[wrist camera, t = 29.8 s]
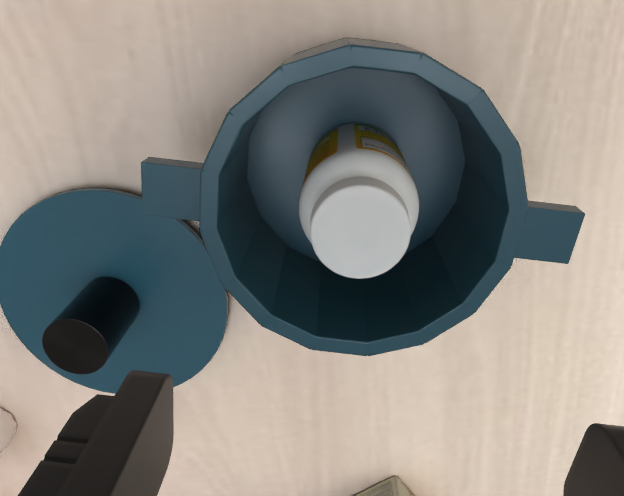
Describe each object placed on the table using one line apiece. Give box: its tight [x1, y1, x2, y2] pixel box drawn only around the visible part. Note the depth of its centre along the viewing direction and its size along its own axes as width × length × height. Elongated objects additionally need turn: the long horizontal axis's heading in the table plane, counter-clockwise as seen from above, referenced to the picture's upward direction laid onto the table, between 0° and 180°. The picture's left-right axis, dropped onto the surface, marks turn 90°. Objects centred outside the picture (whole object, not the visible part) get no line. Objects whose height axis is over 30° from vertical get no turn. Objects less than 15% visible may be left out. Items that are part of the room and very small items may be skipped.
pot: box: [141, 38, 585, 356], centre depth 26 cm, size 14×19×8 cm
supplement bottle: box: [299, 123, 419, 279], centre depth 25 cm, size 5×5×10 cm
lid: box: [0, 188, 228, 394], centre depth 31 cm, size 15×15×6 cm
